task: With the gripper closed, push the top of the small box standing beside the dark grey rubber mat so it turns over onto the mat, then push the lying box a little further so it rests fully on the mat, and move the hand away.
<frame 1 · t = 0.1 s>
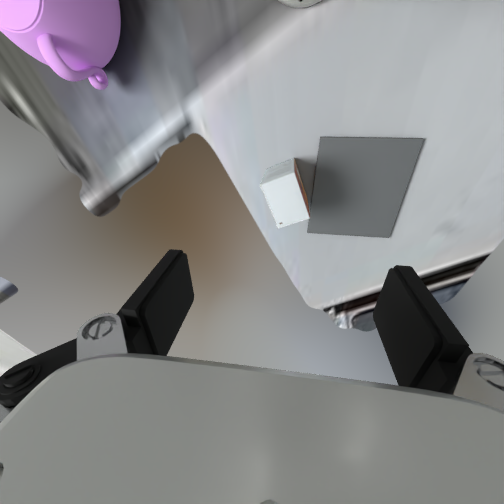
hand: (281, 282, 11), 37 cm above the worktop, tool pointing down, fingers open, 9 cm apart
mat: (357, 191, 44), on the worktop
small box: (286, 182, 45), on the worktop
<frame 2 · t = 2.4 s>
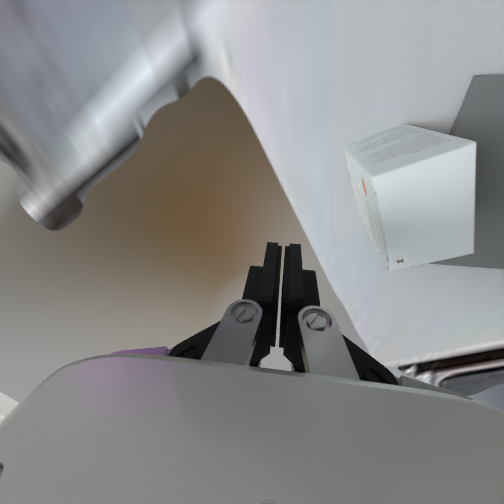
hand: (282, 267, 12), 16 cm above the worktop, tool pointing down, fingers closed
small box: (378, 173, 24), on the worktop
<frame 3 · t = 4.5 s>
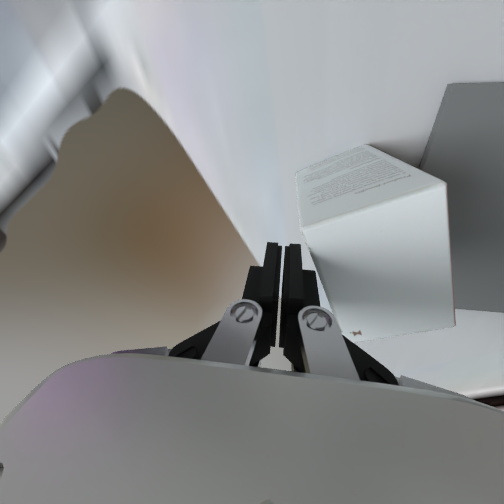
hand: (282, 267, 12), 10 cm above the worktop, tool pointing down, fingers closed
small box: (341, 202, 20), on the worktop, touching gripper
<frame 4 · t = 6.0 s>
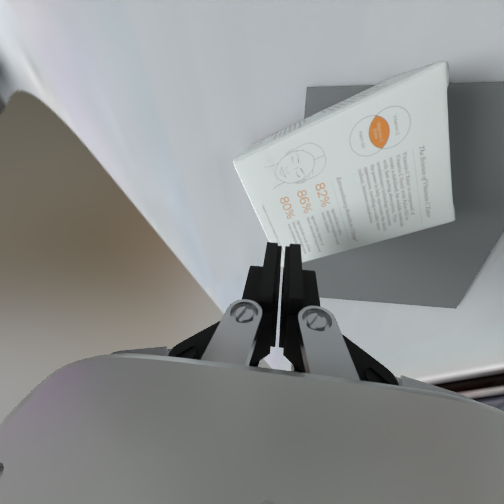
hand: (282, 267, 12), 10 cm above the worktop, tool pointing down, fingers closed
mat: (393, 216, 20), on the worktop
small box: (260, 206, 17), point 3 cm above the worktop, touching mat
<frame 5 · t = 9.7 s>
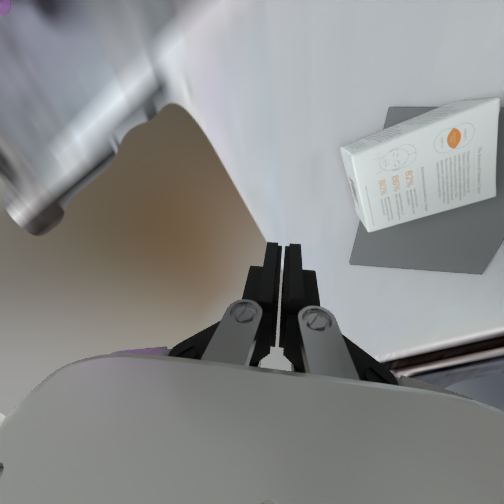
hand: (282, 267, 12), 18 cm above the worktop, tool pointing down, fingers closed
mat: (439, 200, 27), on the worktop
small box: (350, 189, 24), point 3 cm above the worktop, touching mat
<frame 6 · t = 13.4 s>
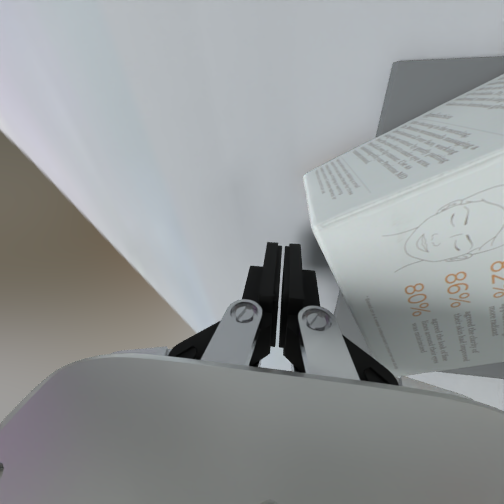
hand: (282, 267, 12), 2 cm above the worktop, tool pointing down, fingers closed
mat: (500, 266, 13), on the worktop
small box: (334, 272, 10), point 3 cm above the worktop, touching gripper, mat
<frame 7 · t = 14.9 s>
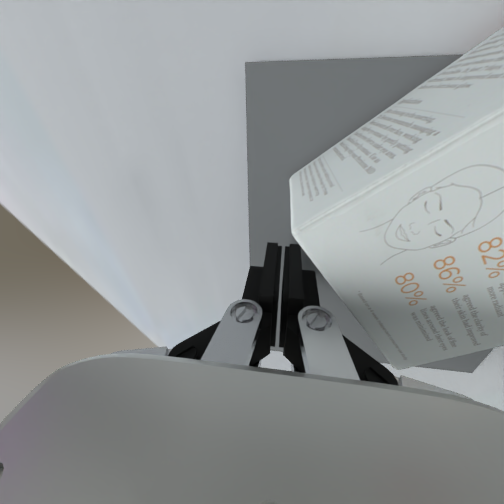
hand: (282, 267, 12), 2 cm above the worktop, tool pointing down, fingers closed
mat: (388, 257, 14), on the worktop
small box: (331, 269, 11), point 3 cm above the worktop, touching gripper, mat
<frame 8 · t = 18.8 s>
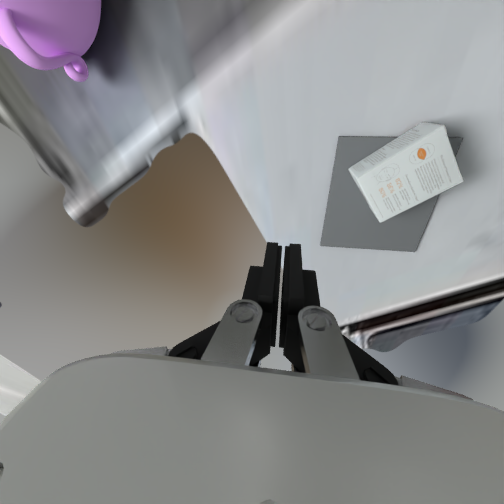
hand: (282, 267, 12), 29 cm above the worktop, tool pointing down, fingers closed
mat: (379, 199, 38), on the worktop
small box: (361, 195, 35), point 3 cm above the worktop, touching mat
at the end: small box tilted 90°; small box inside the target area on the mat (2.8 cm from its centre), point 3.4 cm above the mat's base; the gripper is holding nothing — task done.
